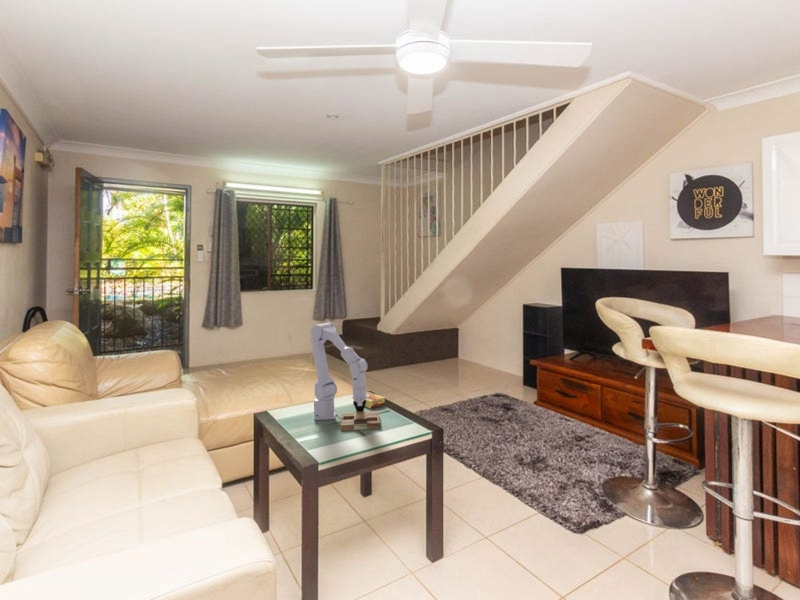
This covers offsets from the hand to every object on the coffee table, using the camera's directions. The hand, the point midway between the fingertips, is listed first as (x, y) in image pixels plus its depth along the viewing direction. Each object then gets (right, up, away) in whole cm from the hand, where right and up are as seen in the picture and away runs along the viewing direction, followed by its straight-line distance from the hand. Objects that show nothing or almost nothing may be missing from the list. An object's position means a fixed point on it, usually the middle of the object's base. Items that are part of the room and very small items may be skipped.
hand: (360, 416), depth 189 cm
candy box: (+7, +1, +23) cm, 24 cm away
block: (0, -1, -3) cm, 4 cm away
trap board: (0, -3, +2) cm, 4 cm away
